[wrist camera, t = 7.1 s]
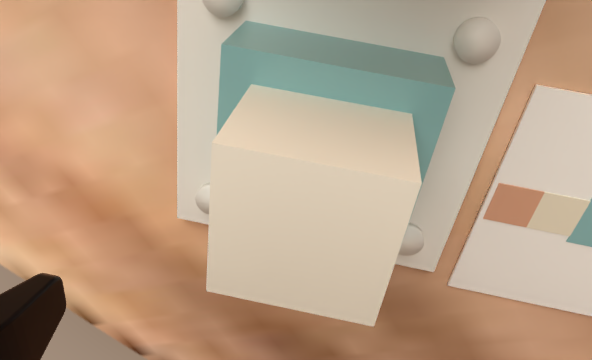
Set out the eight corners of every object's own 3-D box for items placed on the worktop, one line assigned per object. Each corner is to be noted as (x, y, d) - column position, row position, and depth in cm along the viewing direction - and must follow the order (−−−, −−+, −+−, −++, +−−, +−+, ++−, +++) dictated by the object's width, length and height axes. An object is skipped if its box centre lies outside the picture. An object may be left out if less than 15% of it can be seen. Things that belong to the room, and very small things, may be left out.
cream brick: (412, 113, 14) (421, 183, 11) (375, 239, 17) (373, 326, 13) (251, 84, 14) (212, 142, 11) (240, 212, 17) (206, 290, 14)
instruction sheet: (738, 121, 16) (742, 124, 16) (597, 315, 22) (599, 318, 21) (535, 83, 17) (537, 86, 16) (447, 283, 22) (447, 286, 22)
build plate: (542, -10, 15) (584, 15, 12) (432, 263, 21) (440, 324, 18) (183, -73, 16) (136, -64, 13) (181, 210, 22) (150, 260, 19)
